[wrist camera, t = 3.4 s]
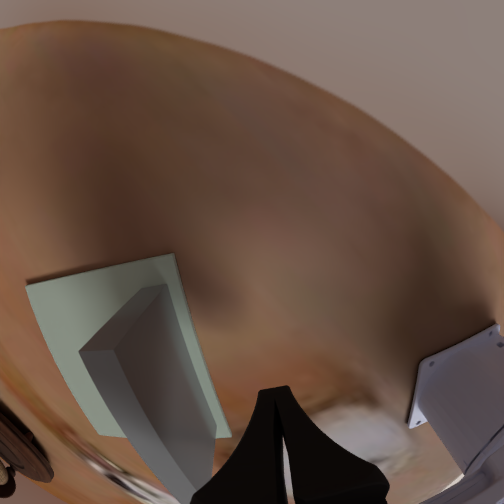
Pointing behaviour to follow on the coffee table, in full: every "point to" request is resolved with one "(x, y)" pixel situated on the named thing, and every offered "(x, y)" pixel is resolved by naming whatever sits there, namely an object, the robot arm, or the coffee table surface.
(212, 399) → the felt mat
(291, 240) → the coffee table surface
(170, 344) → the slate tile
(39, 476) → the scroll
